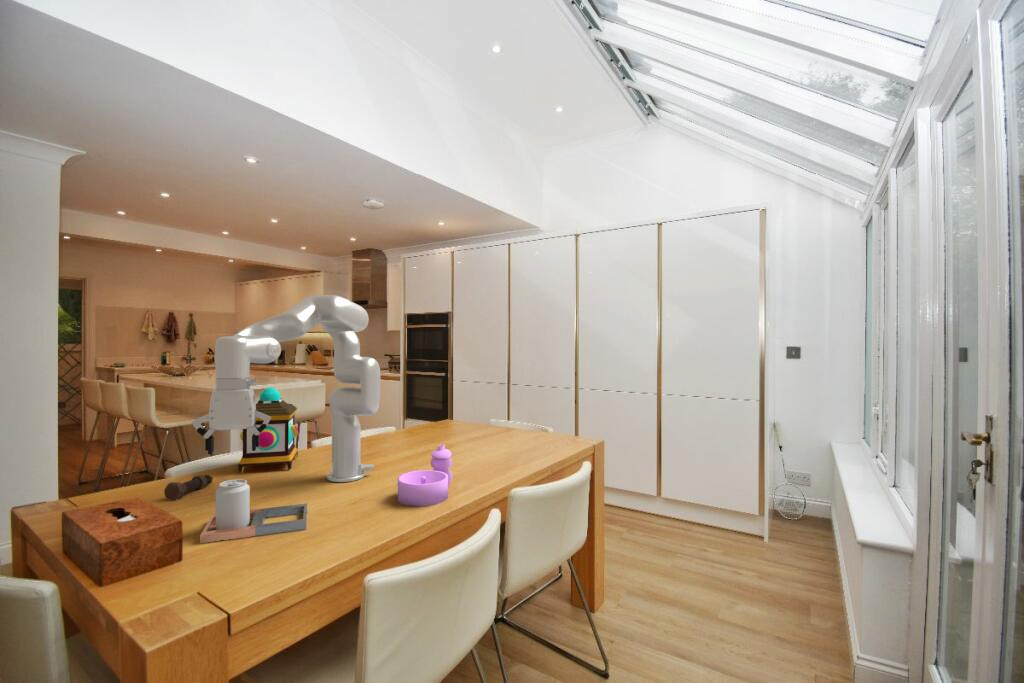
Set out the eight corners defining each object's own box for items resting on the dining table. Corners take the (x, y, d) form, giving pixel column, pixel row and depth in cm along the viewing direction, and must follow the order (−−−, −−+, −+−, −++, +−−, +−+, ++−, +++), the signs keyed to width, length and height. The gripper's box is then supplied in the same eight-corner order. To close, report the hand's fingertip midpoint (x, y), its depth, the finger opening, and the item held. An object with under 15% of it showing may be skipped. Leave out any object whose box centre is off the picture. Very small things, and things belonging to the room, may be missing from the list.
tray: (307, 510, 132) (307, 503, 132) (306, 529, 120) (306, 521, 119) (212, 521, 124) (212, 514, 124) (200, 543, 111) (200, 535, 111)
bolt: (210, 490, 154) (173, 505, 139) (198, 482, 155) (160, 496, 140) (219, 475, 154) (183, 488, 139) (207, 467, 155) (170, 479, 140)
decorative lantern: (246, 461, 183) (247, 385, 183) (301, 457, 189) (302, 384, 189) (232, 475, 164) (233, 390, 164) (294, 471, 170) (294, 389, 170)
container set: (435, 509, 135) (435, 463, 135) (388, 503, 139) (388, 459, 139) (466, 483, 159) (466, 444, 159) (425, 479, 163) (425, 441, 163)
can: (214, 537, 114) (214, 488, 114) (217, 526, 121) (217, 480, 121) (249, 531, 118) (249, 484, 118) (250, 520, 124) (250, 476, 124)
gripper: (272, 382, 126) (272, 445, 126) (196, 384, 119) (196, 451, 119) (269, 385, 119) (269, 451, 119) (188, 387, 112) (189, 458, 112)
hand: (232, 451), depth 119 cm, fingers open, 9 cm apart
